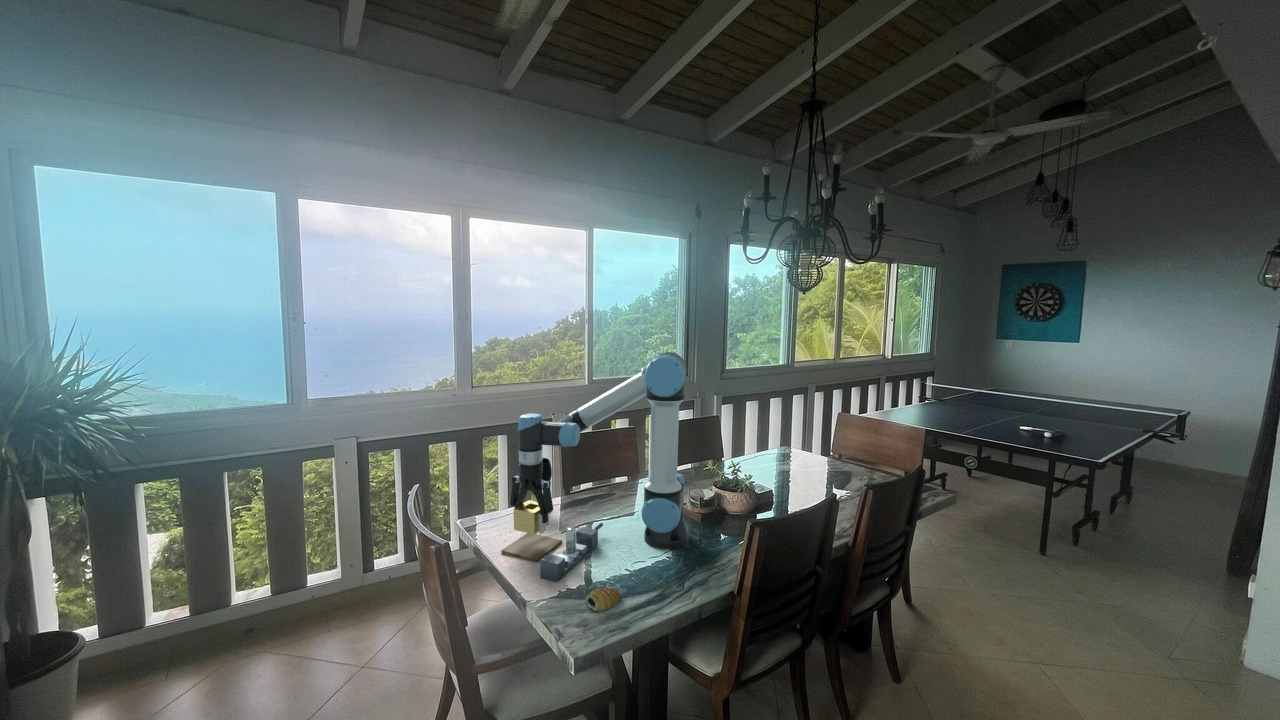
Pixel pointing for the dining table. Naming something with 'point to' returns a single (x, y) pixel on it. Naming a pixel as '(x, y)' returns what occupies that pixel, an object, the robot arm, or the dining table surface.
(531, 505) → the collar
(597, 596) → the pastry
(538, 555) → the pad
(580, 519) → the dining table surface
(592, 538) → the vise
